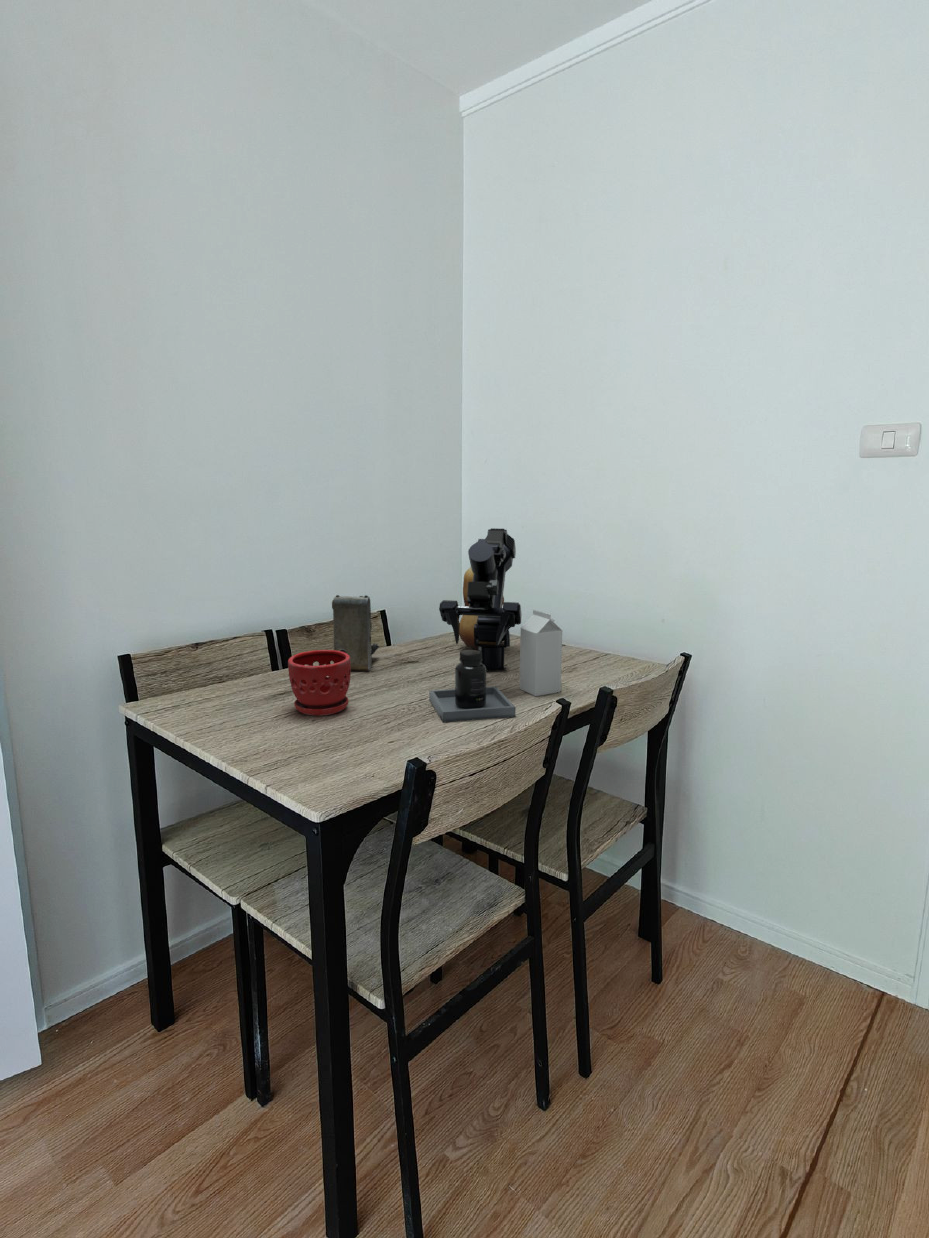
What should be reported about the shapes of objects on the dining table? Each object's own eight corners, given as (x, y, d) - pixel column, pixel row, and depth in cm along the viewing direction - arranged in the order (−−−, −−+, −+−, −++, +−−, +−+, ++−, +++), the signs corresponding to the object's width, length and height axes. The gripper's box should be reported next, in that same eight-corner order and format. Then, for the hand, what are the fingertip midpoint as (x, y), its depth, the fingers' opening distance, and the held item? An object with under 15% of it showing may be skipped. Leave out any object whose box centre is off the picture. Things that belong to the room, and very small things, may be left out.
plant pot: (286, 704, 160) (283, 652, 157) (344, 698, 165) (343, 647, 162) (295, 723, 148) (292, 666, 146) (358, 715, 153) (356, 660, 150)
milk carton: (535, 697, 166) (537, 616, 162) (519, 689, 172) (520, 611, 168) (560, 692, 169) (563, 613, 165) (544, 685, 175) (545, 608, 171)
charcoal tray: (495, 695, 167) (495, 686, 166) (515, 716, 152) (515, 706, 151) (429, 699, 163) (429, 690, 163) (442, 722, 148) (442, 712, 148)
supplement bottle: (448, 703, 158) (448, 651, 156) (473, 698, 162) (474, 646, 160) (467, 712, 153) (467, 657, 151) (492, 706, 157) (493, 652, 154)
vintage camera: (382, 659, 201) (380, 588, 198) (370, 672, 186) (367, 596, 183) (348, 659, 202) (346, 589, 199) (333, 671, 187) (330, 596, 184)
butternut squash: (458, 655, 204) (458, 567, 199) (458, 644, 217) (458, 562, 212) (507, 655, 204) (508, 568, 199) (504, 644, 217) (505, 562, 213)
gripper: (440, 566, 166) (430, 624, 158) (521, 568, 162) (515, 627, 154) (447, 592, 175) (438, 648, 167) (523, 595, 172) (518, 652, 164)
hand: (476, 643), depth 163 cm, fingers open, 9 cm apart
